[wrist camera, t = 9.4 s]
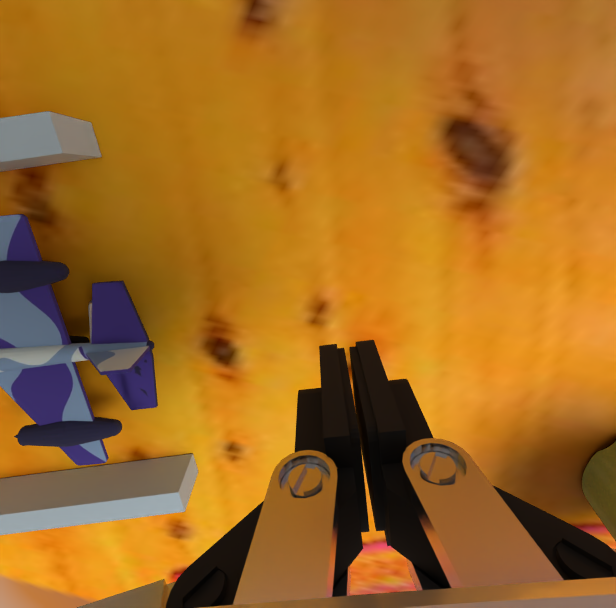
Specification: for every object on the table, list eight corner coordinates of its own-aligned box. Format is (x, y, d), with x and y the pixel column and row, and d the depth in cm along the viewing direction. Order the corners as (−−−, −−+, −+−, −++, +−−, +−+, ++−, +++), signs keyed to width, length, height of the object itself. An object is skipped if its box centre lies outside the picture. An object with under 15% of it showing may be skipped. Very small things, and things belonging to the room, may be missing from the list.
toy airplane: (-117, 352, 20) (-199, 387, 17) (5, 158, 17) (-66, 153, 14) (89, 471, 23) (54, 520, 20) (221, 326, 20) (207, 356, 17)
